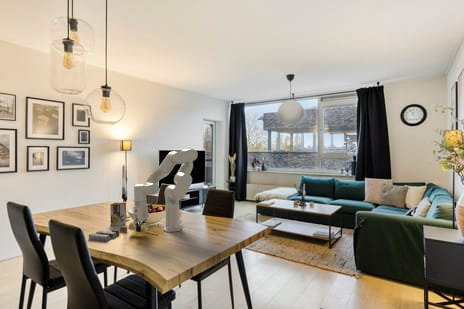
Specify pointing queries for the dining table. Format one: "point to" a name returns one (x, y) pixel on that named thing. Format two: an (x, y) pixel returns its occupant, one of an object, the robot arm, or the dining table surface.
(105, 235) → the steel v block
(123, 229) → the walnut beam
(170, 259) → the dining table surface
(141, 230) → the brass axle
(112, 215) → the coffee box
